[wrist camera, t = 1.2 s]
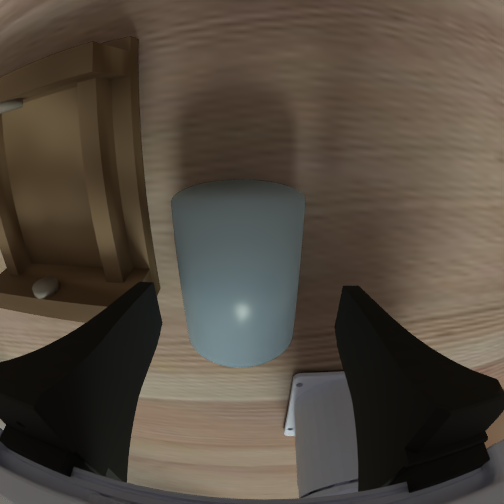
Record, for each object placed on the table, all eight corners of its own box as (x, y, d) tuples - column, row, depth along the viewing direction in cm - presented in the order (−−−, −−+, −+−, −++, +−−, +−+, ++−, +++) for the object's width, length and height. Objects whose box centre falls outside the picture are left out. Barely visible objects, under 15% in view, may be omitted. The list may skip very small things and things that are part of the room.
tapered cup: (298, 304, 17) (284, 376, 13) (208, 292, 18) (171, 354, 14) (309, 184, 14) (299, 228, 9) (201, 177, 15) (145, 215, 10)
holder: (160, 288, 18) (136, 340, 14) (28, 279, 18) (-5, 315, 14) (138, 39, 11) (93, 22, 7) (-8, 88, 11) (-58, 97, 7)
